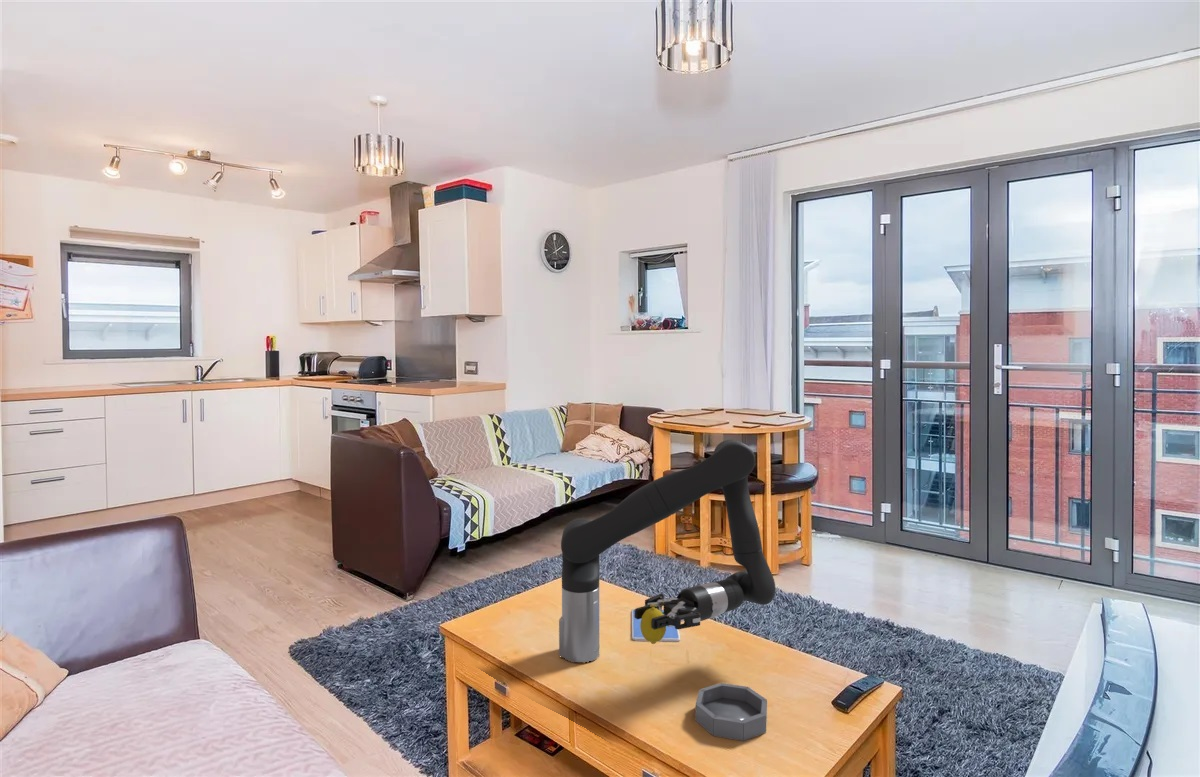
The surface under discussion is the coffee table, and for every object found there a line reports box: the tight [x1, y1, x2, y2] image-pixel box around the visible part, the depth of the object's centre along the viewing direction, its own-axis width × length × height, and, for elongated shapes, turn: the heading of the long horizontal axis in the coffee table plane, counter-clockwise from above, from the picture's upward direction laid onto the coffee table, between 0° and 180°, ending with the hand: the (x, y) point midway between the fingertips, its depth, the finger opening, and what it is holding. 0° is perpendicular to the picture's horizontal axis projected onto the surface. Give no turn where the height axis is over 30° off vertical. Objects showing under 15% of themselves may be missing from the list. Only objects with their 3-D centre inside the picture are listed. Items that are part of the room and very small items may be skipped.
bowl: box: [694, 682, 768, 742], centre depth 127 cm, size 14×14×4 cm
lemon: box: [640, 607, 666, 645], centre depth 135 cm, size 6×6×8 cm
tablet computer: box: [631, 608, 681, 643], centre depth 171 cm, size 19×13×1 cm, turn 177°
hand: (644, 619), depth 133 cm, fingers closed on lemon, 5 cm apart
